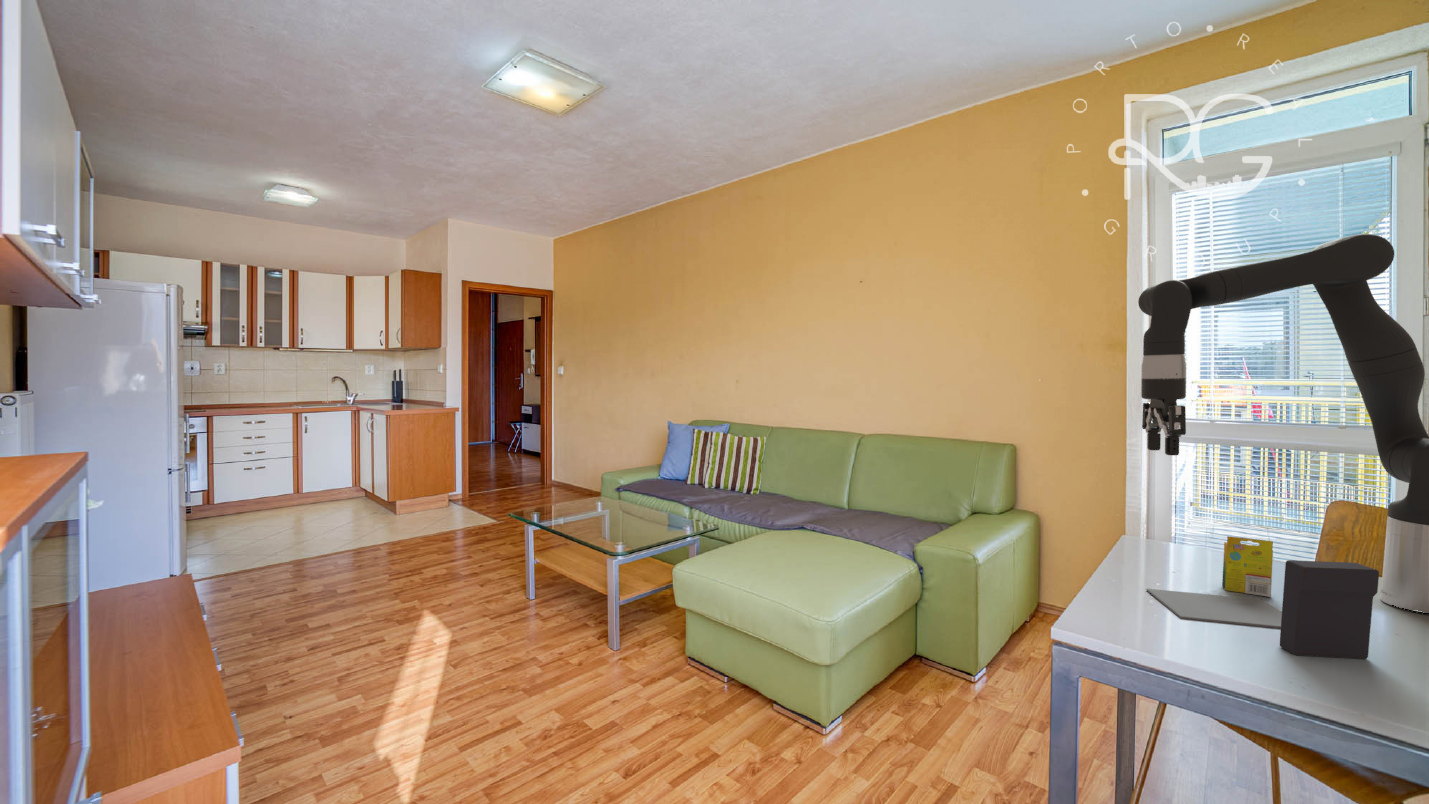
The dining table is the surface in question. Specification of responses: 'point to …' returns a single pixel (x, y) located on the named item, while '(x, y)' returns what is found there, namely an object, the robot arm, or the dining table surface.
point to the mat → (1220, 608)
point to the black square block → (1327, 608)
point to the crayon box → (1248, 566)
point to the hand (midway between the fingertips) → (1162, 452)
